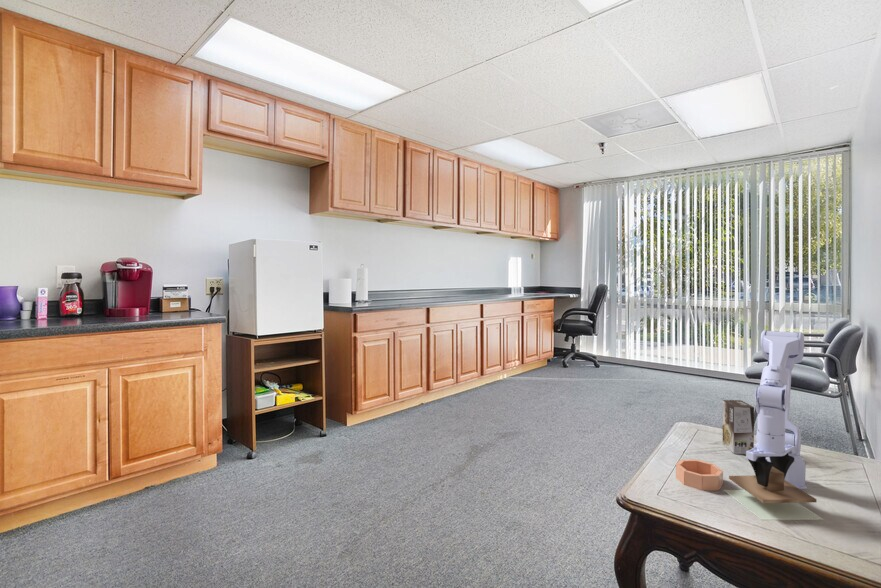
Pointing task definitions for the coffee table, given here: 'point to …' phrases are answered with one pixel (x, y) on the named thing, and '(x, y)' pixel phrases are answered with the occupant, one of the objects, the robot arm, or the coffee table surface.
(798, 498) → the lid
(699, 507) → the coffee table surface
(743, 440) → the coffee box
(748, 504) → the mat
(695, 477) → the bowl
